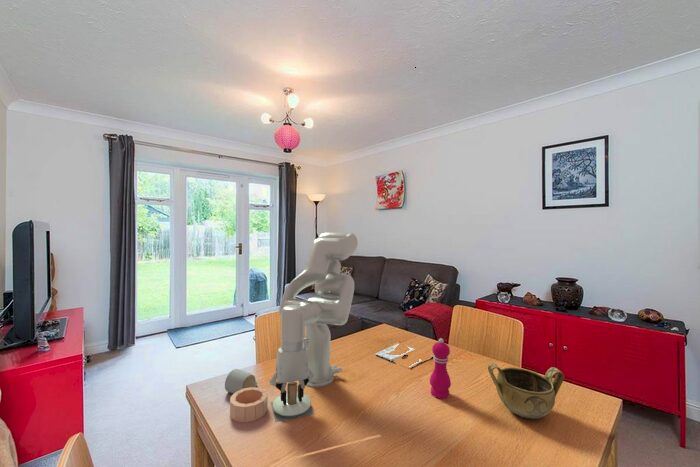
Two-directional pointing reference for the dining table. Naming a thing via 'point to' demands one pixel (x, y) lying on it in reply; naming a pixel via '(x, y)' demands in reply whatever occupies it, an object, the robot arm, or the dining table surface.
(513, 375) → the ceramic bowl
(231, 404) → the round wooden tub
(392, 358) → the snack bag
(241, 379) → the ceramic mug
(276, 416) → the placemat
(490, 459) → the dining table surface
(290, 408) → the lid
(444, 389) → the pepper mill
